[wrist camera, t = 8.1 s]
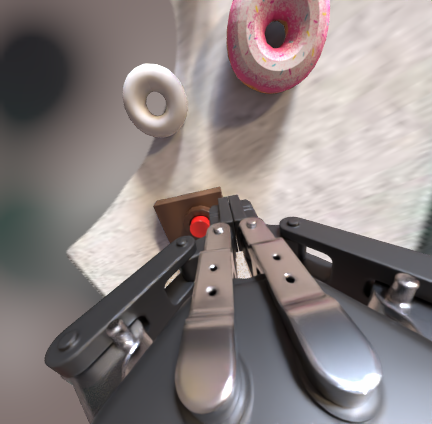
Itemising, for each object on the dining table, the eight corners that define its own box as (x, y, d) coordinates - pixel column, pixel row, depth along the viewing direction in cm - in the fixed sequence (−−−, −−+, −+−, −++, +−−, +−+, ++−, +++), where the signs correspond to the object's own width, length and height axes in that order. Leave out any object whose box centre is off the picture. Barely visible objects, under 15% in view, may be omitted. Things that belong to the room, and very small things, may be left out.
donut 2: (224, -28, 22) (228, -63, 18) (327, -32, 23) (355, -68, 18) (225, 97, 29) (228, 93, 24) (305, 93, 29) (322, 89, 25)
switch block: (173, 240, 43) (170, 252, 39) (156, 200, 37) (150, 210, 33) (229, 229, 41) (231, 240, 37) (220, 186, 36) (221, 194, 32)
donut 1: (152, 146, 32) (199, 120, 30) (146, 149, 29) (197, 120, 27) (115, 87, 28) (167, 52, 26) (103, 84, 25) (161, 43, 23)
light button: (194, 233, 37) (193, 239, 35) (188, 217, 35) (187, 223, 33) (212, 229, 36) (212, 235, 35) (207, 213, 35) (207, 218, 33)
